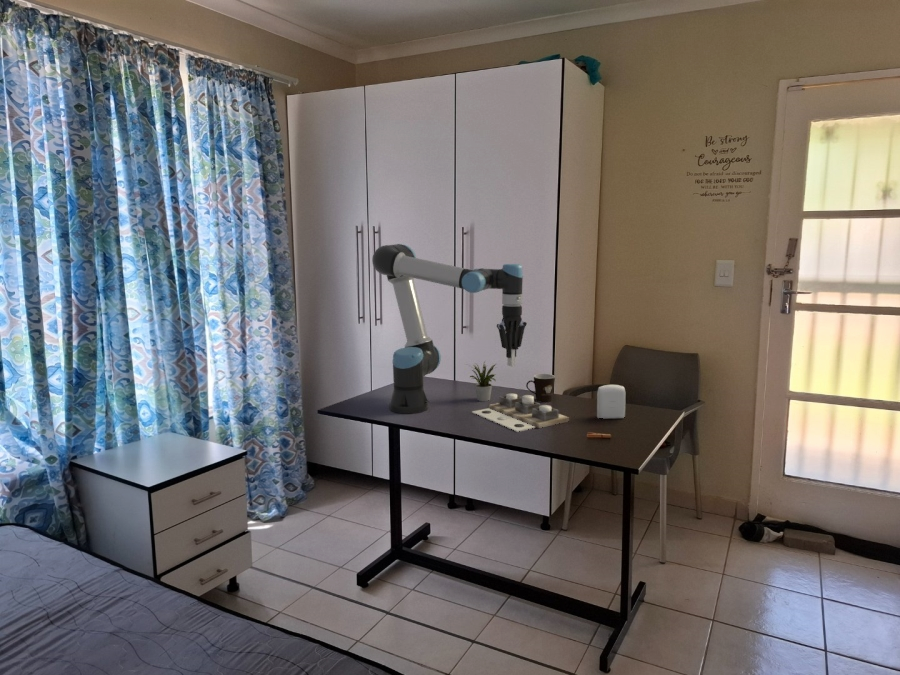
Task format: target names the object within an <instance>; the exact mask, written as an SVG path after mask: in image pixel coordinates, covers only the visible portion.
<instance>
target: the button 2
mask: <svg viewBox="0 0 900 675" xmlns="http://www.w3.org/2000/svg"><path fill="white" fill-rule="evenodd" d="M552 408H553V407H552V405H547V404H541V406H539V410H540V411H542V412H548V411H552Z"/></svg>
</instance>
